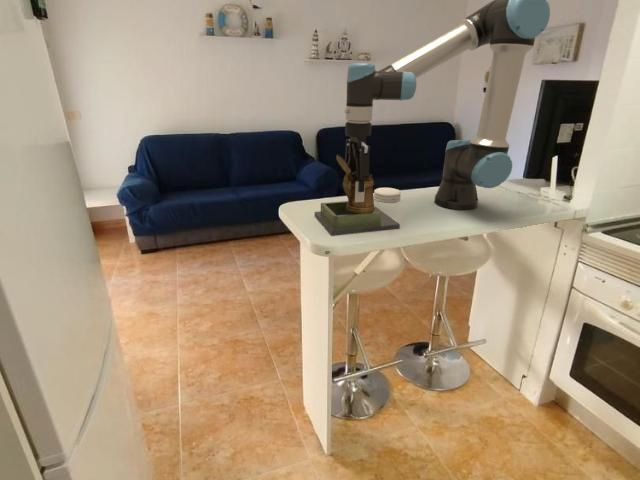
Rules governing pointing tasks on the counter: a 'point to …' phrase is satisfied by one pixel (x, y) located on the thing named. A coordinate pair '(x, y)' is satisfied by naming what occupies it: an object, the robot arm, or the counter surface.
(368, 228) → the green and grey tray
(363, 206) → the wooden mug
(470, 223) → the counter surface
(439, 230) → the counter surface
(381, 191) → the coaster
